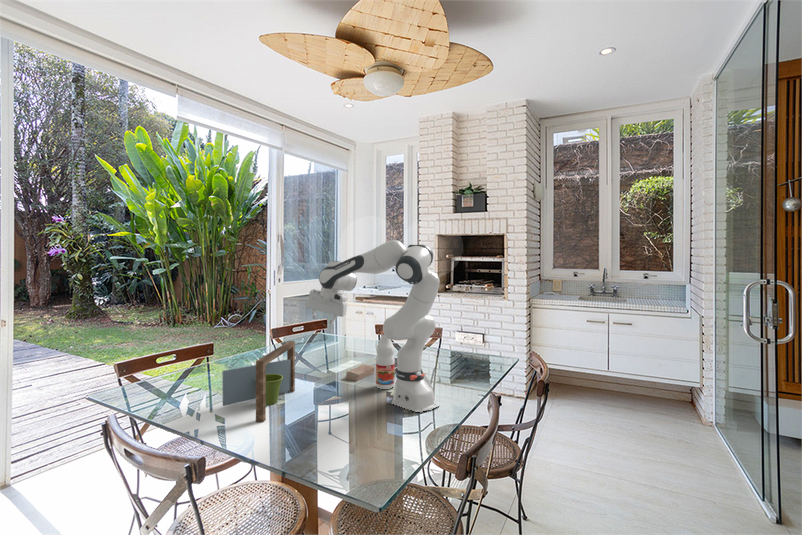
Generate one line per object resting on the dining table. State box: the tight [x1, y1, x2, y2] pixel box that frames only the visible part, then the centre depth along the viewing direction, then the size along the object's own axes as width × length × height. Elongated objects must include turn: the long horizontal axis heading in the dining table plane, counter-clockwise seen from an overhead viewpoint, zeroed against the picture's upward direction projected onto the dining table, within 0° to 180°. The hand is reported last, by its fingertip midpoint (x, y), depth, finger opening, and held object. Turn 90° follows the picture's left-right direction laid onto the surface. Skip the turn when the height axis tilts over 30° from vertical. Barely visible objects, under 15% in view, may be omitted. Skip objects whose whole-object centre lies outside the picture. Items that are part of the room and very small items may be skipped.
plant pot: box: [255, 374, 283, 406], centre depth 171 cm, size 12×12×11 cm
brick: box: [345, 364, 376, 382], centre depth 210 cm, size 17×8×5 cm, turn 151°
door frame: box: [255, 340, 296, 423], centre depth 168 cm, size 3×36×24 cm, turn 176°
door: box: [221, 359, 291, 407], centre depth 175 cm, size 3×30×15 cm, turn 131°
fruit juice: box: [375, 330, 396, 390], centre depth 193 cm, size 9×9×28 cm
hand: (322, 321), depth 186 cm, fingers open, 8 cm apart
